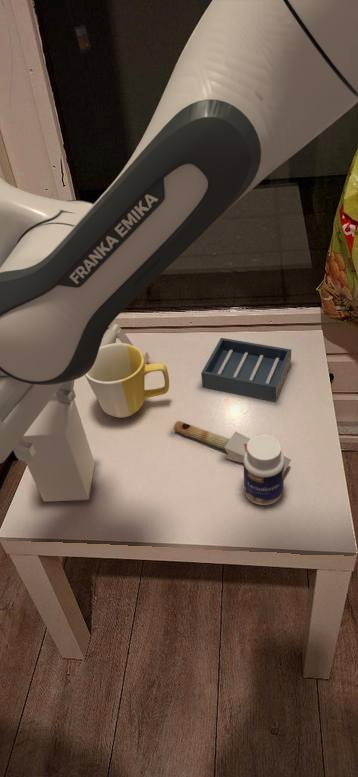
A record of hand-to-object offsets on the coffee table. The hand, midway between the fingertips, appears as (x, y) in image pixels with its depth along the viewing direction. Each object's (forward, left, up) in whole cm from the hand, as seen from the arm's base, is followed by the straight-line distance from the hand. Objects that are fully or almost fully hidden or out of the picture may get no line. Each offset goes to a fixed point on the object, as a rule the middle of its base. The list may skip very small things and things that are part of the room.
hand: (48, 427), depth 65 cm
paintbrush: (-15, -20, -21) cm, 33 cm away
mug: (+4, -24, -21) cm, 32 cm away
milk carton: (+6, -6, -21) cm, 23 cm away
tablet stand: (+10, -32, -21) cm, 39 cm away
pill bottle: (-23, -14, -21) cm, 34 cm away
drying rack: (-13, -38, -21) cm, 45 cm away
